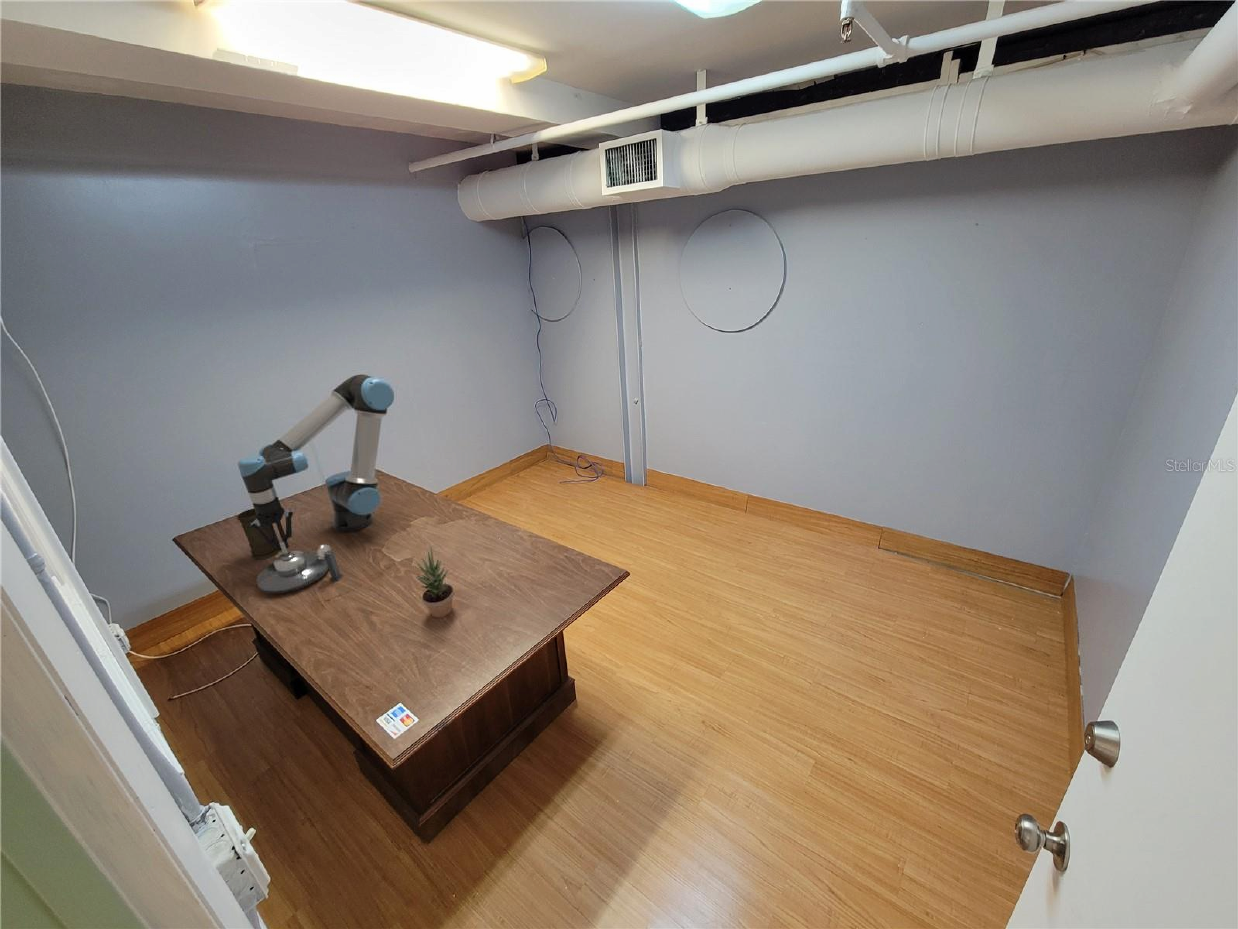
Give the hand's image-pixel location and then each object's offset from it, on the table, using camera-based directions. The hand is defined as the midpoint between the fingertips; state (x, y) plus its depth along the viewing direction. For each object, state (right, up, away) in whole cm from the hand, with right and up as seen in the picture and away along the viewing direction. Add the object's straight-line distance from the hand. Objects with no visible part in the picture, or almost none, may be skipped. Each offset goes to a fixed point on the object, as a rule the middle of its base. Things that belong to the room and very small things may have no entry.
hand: (286, 556), depth 182 cm
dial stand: (+22, -7, -5) cm, 23 cm away
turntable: (+6, -5, -4) cm, 9 cm away
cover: (+6, -4, -5) cm, 9 cm away
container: (-16, -1, +12) cm, 20 cm away
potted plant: (+66, -13, -24) cm, 71 cm away
